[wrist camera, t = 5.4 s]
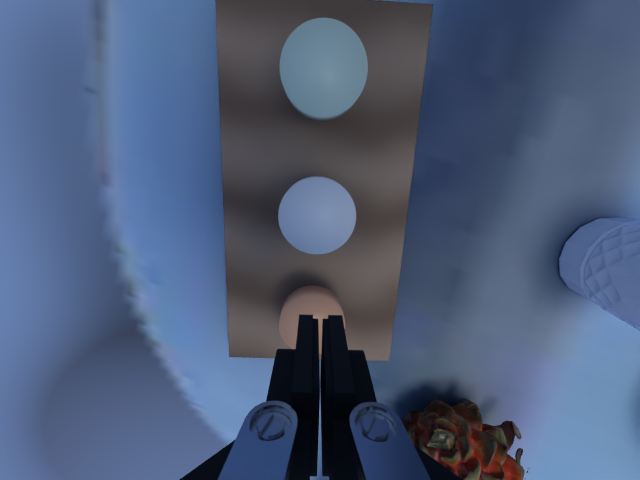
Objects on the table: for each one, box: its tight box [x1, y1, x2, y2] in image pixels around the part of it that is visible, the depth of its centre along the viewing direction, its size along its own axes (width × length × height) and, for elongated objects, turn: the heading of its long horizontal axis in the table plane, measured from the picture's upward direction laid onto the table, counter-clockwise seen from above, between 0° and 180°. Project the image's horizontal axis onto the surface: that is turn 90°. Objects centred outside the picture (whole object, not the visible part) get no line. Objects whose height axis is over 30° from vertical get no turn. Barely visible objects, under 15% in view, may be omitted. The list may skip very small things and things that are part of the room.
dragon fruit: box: [402, 399, 530, 480], centre depth 25 cm, size 8×8×12 cm
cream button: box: [278, 176, 356, 254], centre depth 18 cm, size 4×4×3 cm
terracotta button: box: [279, 286, 345, 354], centre depth 21 cm, size 4×4×3 cm
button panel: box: [216, 0, 433, 361], centre depth 22 cm, size 25×13×2 cm, turn 177°
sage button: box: [280, 18, 368, 120], centre depth 16 cm, size 4×4×3 cm
